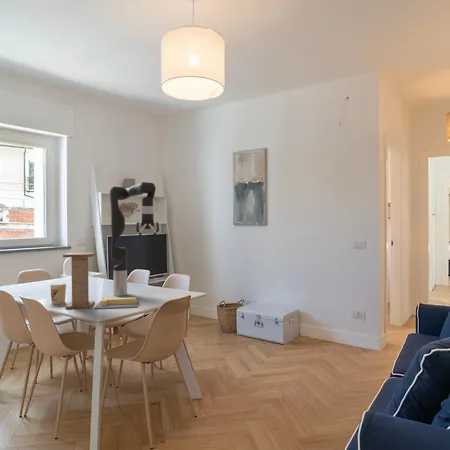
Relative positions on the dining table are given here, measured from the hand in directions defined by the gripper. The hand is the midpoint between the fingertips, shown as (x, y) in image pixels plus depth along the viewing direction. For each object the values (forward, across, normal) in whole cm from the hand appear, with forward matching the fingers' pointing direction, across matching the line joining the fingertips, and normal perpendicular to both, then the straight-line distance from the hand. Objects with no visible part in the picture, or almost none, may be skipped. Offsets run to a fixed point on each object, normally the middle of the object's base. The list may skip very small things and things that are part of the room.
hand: (147, 238), depth 253 cm
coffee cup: (+40, -56, +3) cm, 69 cm away
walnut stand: (+40, -40, -10) cm, 58 cm away
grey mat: (+40, -18, -10) cm, 45 cm away
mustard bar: (+39, -17, -10) cm, 44 cm away
